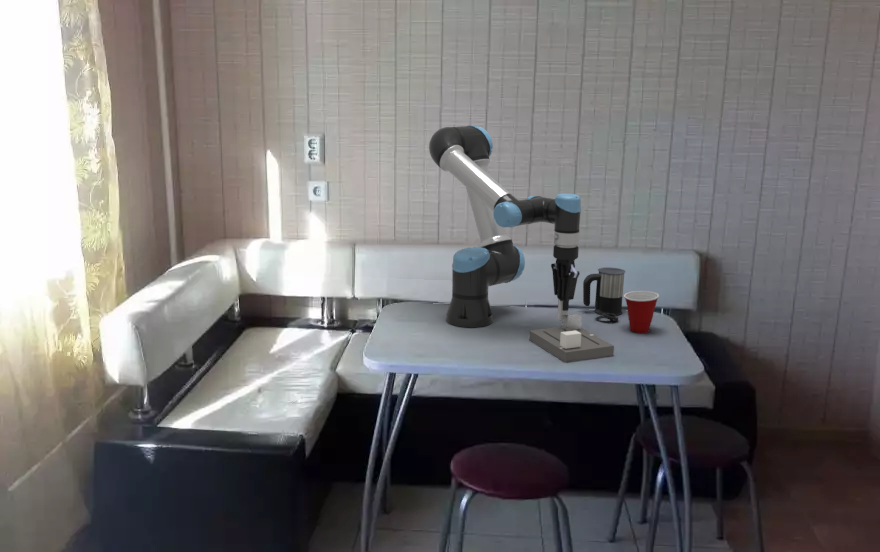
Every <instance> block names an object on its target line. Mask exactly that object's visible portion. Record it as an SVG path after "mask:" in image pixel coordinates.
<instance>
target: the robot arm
mask: <svg viewBox="0 0 880 552" xmlns="http://www.w3.org/2000/svg"><path fill="white" fill-rule="evenodd" d="M493 146H494V145H493V139H492V137H491V135H490V134H489V132H488V131H487V130H486V129H485V128H483V127H481V126H477V125H466V126H464V125H463V126H446V127H442V128H439V129H438V130H436V131H435V132H434V133H433V135H432V136H431V138H430V141H429V143H428V149H429V155H430V157H431V159H432V160H433V162H434V164H435V165H437V166H438V167H439V168H440V169H441V171H444V172H449V173H450V174H451V175H452V176H453V177H454V178H456V180H458V181H459V182H460V183H461V184H462V185H463V186H465V188H466V193H467V195H468V199H469V202H470V207H471V211H472V214H473V218H474V221H475V224H476V225H475V226H476V228H477V233H478V235H479V240H480V244H479V245H478V247H477V246H476V247H475V246H473V247H465V248H461V249H459V250H457V251H456V252H455V253H454V254H453V257H452V265H451V268H452V269H451V270H452V281H451V282H452V284H451V285H452V289H451V290H452V291H451V292H452V293H451V295H452V296H451V300H450V302H449V305H448V308H447V311H446V322H447V323H448V324H450V325H452V326H455V327H461V328H480V327H481V328H482V327H486V326H490V325H491V324H492V323H493V322H494V315H493V311H492V307H491V304H490V301H489V287H491V286H497V285H501V284H508V283H510V282H512V281H516V280H518V279H519V278H520V277H521V275H522V274H523V271H524V270H525V265H526V260H525V256H524V253H523V250H522V249H521V248H519V247H518V246H517V245H514V242H513V239H512V238H511V237H509V236H508V235H507V234H506V230H505V228H515V227H519V226H524V225H530V224H531V225H532V224H536V223H537V224H538V223H548V224H553V227H554V229H553V230H554V235H553V238H554V239H553V244H554V246H553V250H552V251H553V252H552V253H553V254H552V256H553V257H554V259H555V263H551V264H550V267H551V271H552V282H553V294H554V296H556V298H557V300H558V302H557V303H558V304H557V320H558V321H561V322H562V315H569V307H570V306H569V304H570V301H571V300H574V299H575V293H576V287H577V283H578V278H579V276H580V271H578V270H576V264H575V261H576V260H577V259H578V258H579V246H578V245H580V244H579V243H580V223H581V222H580V221H581V212H582V208H581V197H580V196H579V195H578V194H577V193H576V194H575V193H558V194H556V196H555V198H550V197H545V196H542V195H530V196H528V197H527V198H525V199H520V200H519V199H517V198H516V197H515V195H512V194H511V193H510V192H509V190H507V189H505V188H504V186H503V185H501V184H500V183H499V182H497V180H496V179H494V178H493V177H492V176H491V175H490V174H489V169H488V165H489V164H490V162H491V161H490V157H491V155H492V152H493V148H494V147H493Z"/></svg>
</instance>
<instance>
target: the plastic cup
mask: <svg viewBox="0 0 880 552" xmlns="http://www.w3.org/2000/svg"><path fill="white" fill-rule="evenodd" d="M659 297H660V294H659V293H658V292H654V291H651V290H650V291H649V290H632V291H629V292H626V293H623V298H624V299H625V302H626V306H627V316H628V317H627V318H628V321H629V322H628V323H629V329H630V331H631V332H632V333H636V334H646V333H648V332H650V328H651V323H652V321H653V317H654V313H655V309H656V306H657V305H656V304H657V302H658V299H659Z"/></svg>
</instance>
